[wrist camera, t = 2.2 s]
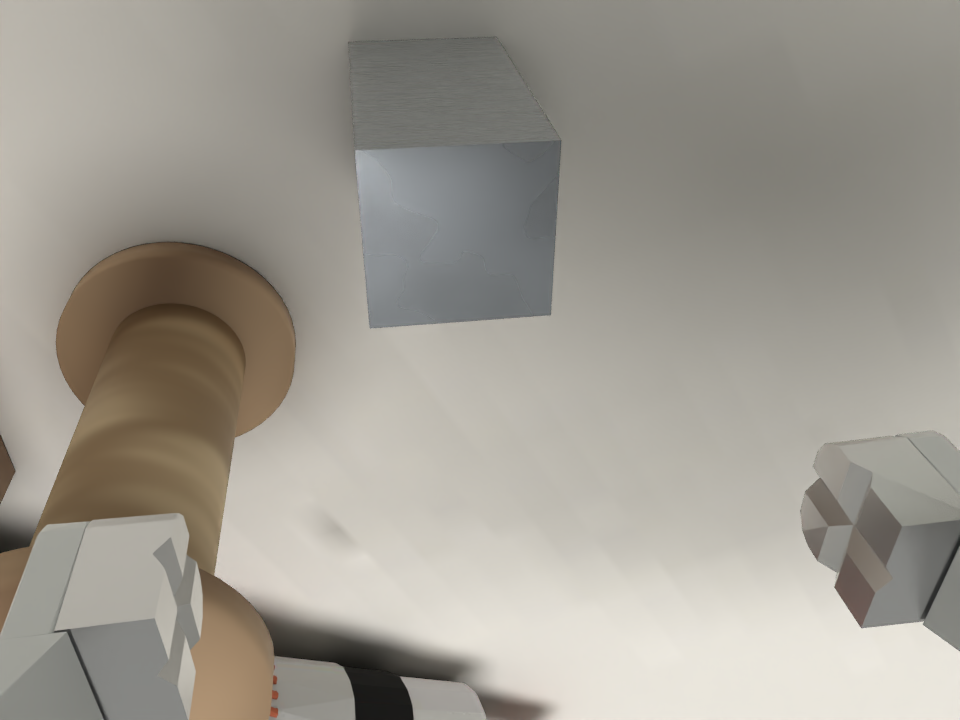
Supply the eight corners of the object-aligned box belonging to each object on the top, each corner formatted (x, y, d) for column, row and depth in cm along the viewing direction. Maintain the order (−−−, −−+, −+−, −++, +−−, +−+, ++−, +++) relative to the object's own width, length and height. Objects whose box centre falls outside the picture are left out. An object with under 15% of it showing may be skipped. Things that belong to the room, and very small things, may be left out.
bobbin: (280, 235, 25) (241, 566, 15) (307, 417, 29) (292, 780, 19) (35, 249, 24) (-193, 611, 14) (97, 435, 28) (-44, 826, 18)
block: (496, 36, 23) (561, 140, 16) (494, 176, 25) (550, 315, 19) (348, 41, 22) (354, 150, 16) (360, 183, 25) (370, 328, 18)
